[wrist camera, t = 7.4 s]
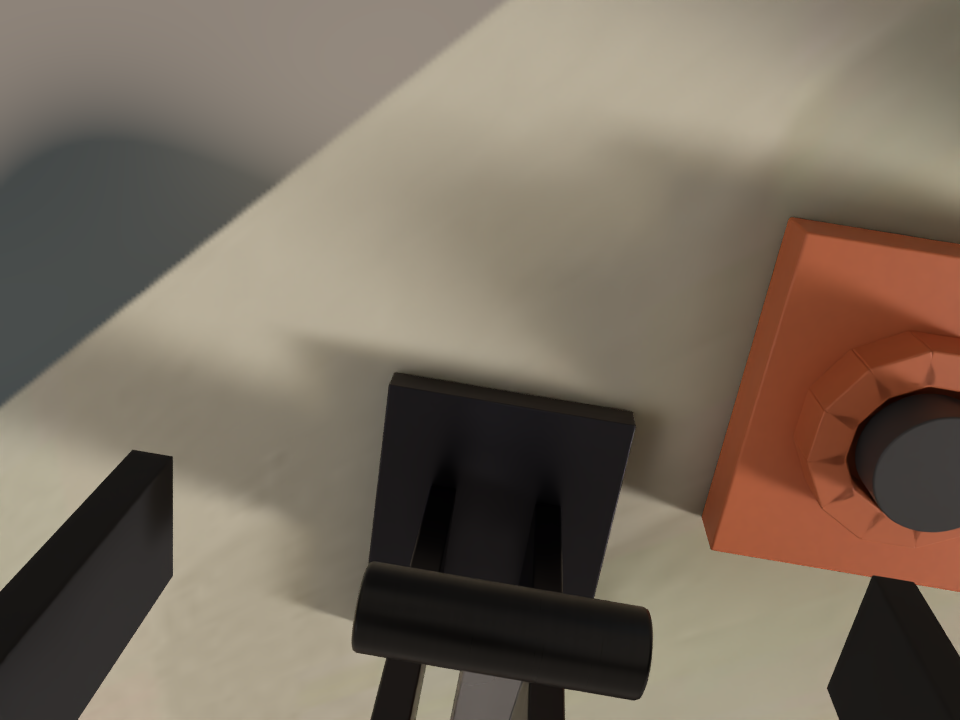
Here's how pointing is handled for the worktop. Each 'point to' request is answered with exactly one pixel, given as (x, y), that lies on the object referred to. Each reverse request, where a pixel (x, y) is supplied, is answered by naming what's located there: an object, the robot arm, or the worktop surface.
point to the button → (914, 461)
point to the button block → (837, 402)
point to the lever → (501, 636)
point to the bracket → (494, 502)
